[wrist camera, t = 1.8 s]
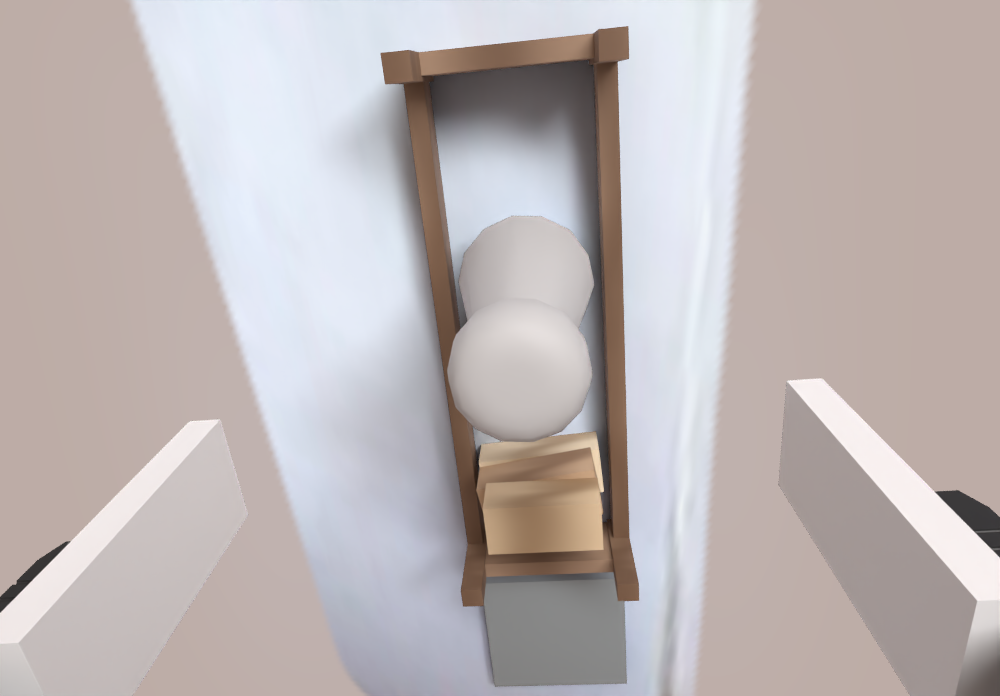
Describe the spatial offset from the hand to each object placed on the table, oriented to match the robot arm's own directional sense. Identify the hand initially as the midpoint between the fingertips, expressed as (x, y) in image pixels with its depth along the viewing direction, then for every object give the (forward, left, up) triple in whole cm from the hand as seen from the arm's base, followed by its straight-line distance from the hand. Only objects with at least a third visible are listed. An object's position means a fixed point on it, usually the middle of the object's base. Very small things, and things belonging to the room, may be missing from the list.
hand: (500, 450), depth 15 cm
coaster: (0, +22, -16) cm, 27 cm away
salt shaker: (0, 0, -17) cm, 17 cm away
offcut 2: (0, +11, -15) cm, 18 cm away
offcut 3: (0, +11, -13) cm, 16 cm away
